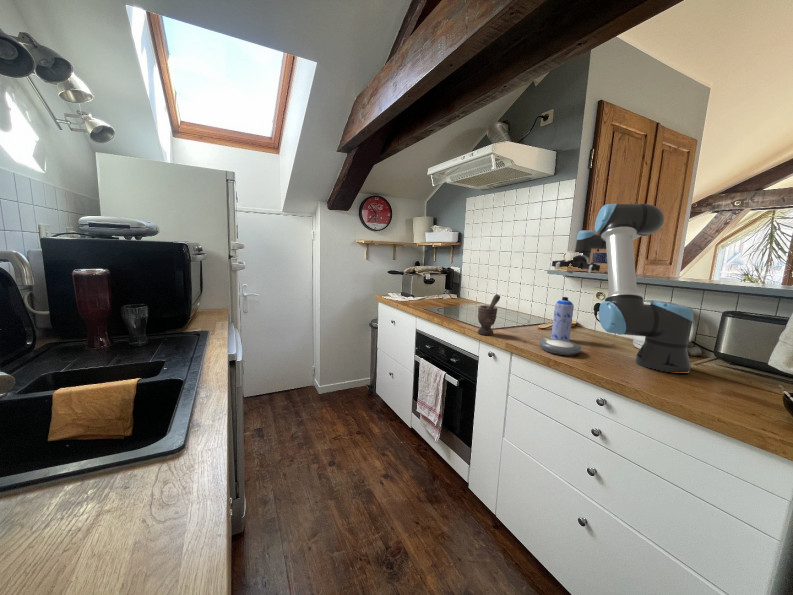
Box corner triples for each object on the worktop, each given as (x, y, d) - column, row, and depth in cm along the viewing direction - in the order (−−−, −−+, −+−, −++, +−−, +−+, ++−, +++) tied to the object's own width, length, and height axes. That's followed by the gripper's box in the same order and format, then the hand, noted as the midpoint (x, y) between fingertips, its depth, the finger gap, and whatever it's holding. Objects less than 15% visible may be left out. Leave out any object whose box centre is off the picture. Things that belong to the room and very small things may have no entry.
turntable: (589, 351, 120) (590, 347, 120) (561, 354, 115) (562, 350, 115) (556, 340, 134) (557, 337, 134) (530, 343, 128) (531, 339, 128)
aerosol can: (573, 341, 139) (579, 298, 136) (560, 343, 136) (566, 298, 133) (559, 337, 146) (564, 295, 143) (546, 338, 144) (551, 295, 141)
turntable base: (582, 354, 121) (583, 351, 121) (560, 357, 117) (561, 353, 117) (556, 345, 132) (557, 342, 132) (536, 347, 128) (536, 344, 128)
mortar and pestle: (504, 336, 143) (508, 294, 140) (493, 339, 138) (497, 295, 135) (483, 330, 152) (487, 290, 149) (472, 332, 147) (475, 291, 144)
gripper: (606, 272, 152) (602, 279, 136) (551, 266, 167) (542, 272, 150) (609, 257, 150) (606, 262, 134) (553, 253, 164) (544, 257, 148)
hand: (572, 268), depth 142 cm, fingers open, 13 cm apart
